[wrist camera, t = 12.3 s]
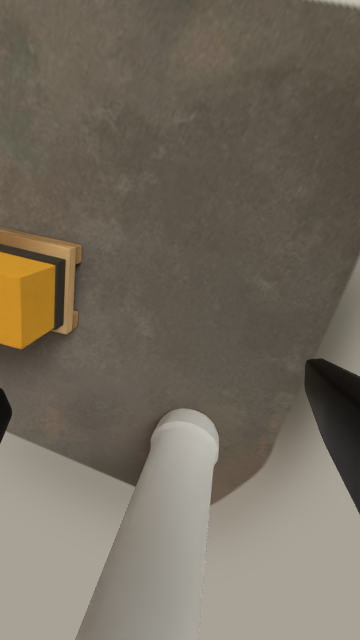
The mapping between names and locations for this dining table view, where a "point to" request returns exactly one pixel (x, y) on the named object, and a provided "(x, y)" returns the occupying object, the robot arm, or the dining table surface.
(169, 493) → the bottle
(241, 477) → the dining table surface
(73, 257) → the thin tan notched panel
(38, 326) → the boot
